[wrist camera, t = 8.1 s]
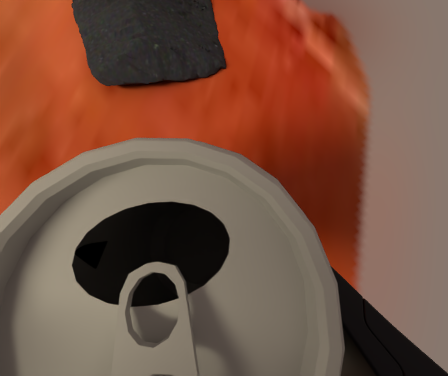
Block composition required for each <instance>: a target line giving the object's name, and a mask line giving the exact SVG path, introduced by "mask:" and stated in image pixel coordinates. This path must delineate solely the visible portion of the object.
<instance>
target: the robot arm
mask: <svg viewBox="0 0 448 376" xmlns="http://www.w3.org/2000/svg"><path fill="white" fill-rule="evenodd" d="M107 242H108V241H104V242H97V243H91V244H86V245H83V246H82V247H80V248H78V249H77V250H75V255H76V256H78V257H79V258H80V259H82V260H83V261H84V262H86V263H87V264H88V265H90V266H92V267H93V268H95V269H96V268H97V266H98V264H99V262H100V259H101V257H102V254H103V252H104V249H105V247H106V245H107ZM331 269H332V271H333V273H334V276H335V278H336V281H337V284H338V293H339V302H340V311H341V319H342V328H343V337H344V346H345V351H344V357H343V364H342V370H341V376H448V373H447V372H446V371H444V370H443V369H442V368H441V367H440V366H439V365H437V364H436V363H435V362H434V361H433V360H432V359H430V358H429V357H428V356H427V355H426V354H425V353H424V352H422V351H421V350H420V349H419V348H418V347H417V346H415V345H414V344H413V343H412V342H411V341H410V340H408V339H407V338H406V337H405V336H404V335H403V334H402V333H401V332H400V331H398V330H397V329H396V328H395V327H394V326H393V325H392V324H391V323H390V322H389V321H388V320H386V319H385V318H384V317H383V316H382V315H381V314H380V313H379V312H378V311H377V310H376V309H375V308H374V307H373V306H372V305H371V304H370V303H368V301H367V300H365V299H364V298H363V297H362V296H361V295H360V294H359V293H358V292H357V291H356V290H355V289H354V288H353V287H352V286H351V285H350V284H349V283H348V282H347V281H346V280H345V279H344V278H343V277H342V276H341V275H340V274H339V273H337V272H336V271H335V270H334V269H333V268H332V267H331Z"/></svg>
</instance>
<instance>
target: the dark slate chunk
mask: <svg viewBox="0 0 448 376" xmlns="http://www.w3.org/2000/svg"><path fill="white" fill-rule="evenodd" d="M72 8H73V10H74V11H73V14H74V18H75V21H76V23H77V24H78V27H79V32H80V34H81V37H82V39H83V43H84V47H85V49H86V56H87V62H88V66H89V68H90V69H91V73H92V75H93V76H94V77H95V78H96V79H97V80H98V81H99V82H100V83H102V84H104V85H106V86H111V85H124V84H139V83H145V84H149V82H159V81H162V80H171V81H185V80H188V79H195V78H204V77H208V76H209V75H211V74H215V73H216V72H217V71H218V70H219V69H220V68H223V69H225V68H226V64H225V59H224V51H223V48H222V46H221V44H220V42H219V40H218V31H217V25H216V22H215V20H214V13H213V9H212V3H211V1H210V0H73V3H72Z"/></svg>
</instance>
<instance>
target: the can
mask: <svg viewBox="0 0 448 376" xmlns="http://www.w3.org/2000/svg"><path fill="white" fill-rule="evenodd" d="M104 241H108V242H107V245H106V247H105V249H104V252H103V254H102V257H101V259H100V262H99V264H98V266H97V268H96V269H95V268H93V267H92V266H90V265H88V264H87V263H86V262H84V261H83V260H82V259H80V258H79V257H78V256H76V255H75V250H77V249H78V248H80V247H82V246H83V245H86V244H91V243H97V242H104ZM344 351H345V346H344V337H343V328H342V319H341V311H340V302H339V293H338V284H337V281H336V278H335V276H334V273H333V271H332V269H331V266H330V264H329V261H328V259H327V256H326V254H325V251H324V249H323V247H322V244H321V242H320V239H319V237H318V234H317V232H316V229H315V227H314V226H313V225H312V223H311V222H310V221H309V220H308V218H307V217H306V215H305V214H304V212H303V211H302V210H301V209H300V207H299V206H298V205H297V204H296V202H295V201H294V200H293V199H292V197H291V196H290V195H289V194H288V192H287V191H286V190H285V189H284V187H283V186H282V185H281V184H280V182H279V181H278V180H277V179H276V178H275V177H273V176H272V175H270V174H269V173H267V172H266V171H264V170H263V169H262V168H260V167H259V166H257V165H256V164H254V163H253V162H251V161H250V160H249V159H247V158H246V157H244V156H243V155H241V154H238V153H235V152H232V151H229V150H226V149H222V148H219V147H216V146H213V145H210V144H207V143H204V142H200V141H194V140H191V139H178V138H134V139H130V140H127V141H123V142H119V143H116V144H112V145H109V146H105V147H101V148H98V149H94V150H90V151H87V152H83V153H81V154H80V155H78V156H76V157H75V158H73V159H71V160H70V161H68V162H66V163H65V164H63V165H61V166H60V167H58V168H56V169H54V170H53V171H51V172H49V173H48V174H46V175H44V176H43V177H41V178H39V179H38V180H36V181H34V182H33V183H31V184H30V185H29V186H28V188H27V189H26V190H25V191H24V192H23V193H22V194H21V195H20V196H19V197H18V198H17V199H16V200H15V201H14V202H13V203H12V204H11V205H10V206H9V207H8V208H7V209H6V210H5V211H4V212H3V213H2V214H1V215H0V376H341V370H342V364H343V357H344Z"/></svg>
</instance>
